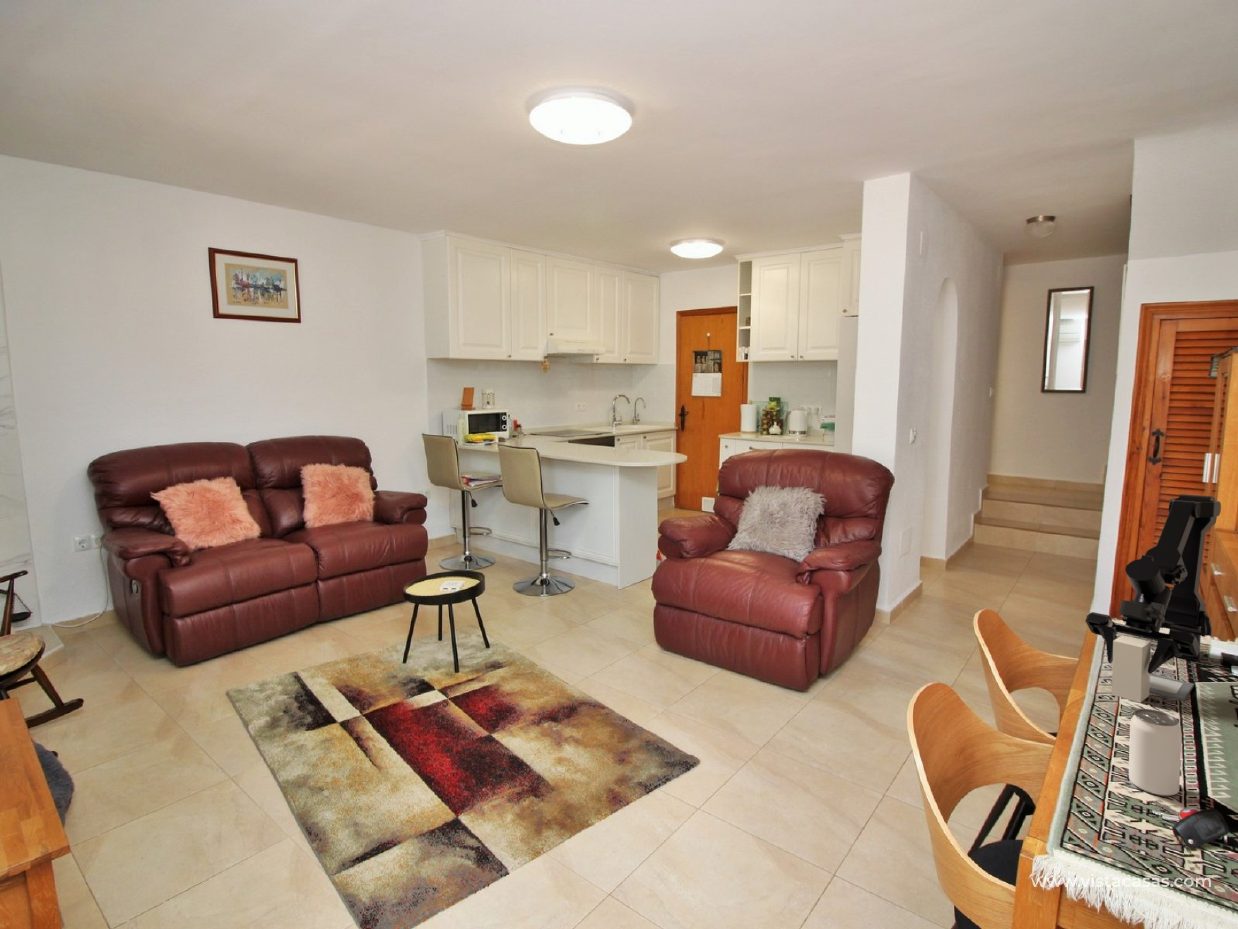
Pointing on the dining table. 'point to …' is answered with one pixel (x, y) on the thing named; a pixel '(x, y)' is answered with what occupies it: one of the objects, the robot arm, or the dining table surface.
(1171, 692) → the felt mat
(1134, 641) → the cream block
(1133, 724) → the can
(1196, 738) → the dining table surface
